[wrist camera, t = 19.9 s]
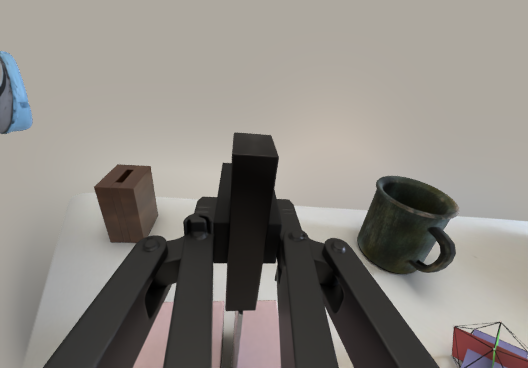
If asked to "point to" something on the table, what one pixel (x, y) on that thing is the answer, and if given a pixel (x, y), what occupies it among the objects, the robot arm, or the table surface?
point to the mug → (407, 226)
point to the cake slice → (260, 337)
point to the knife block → (127, 202)
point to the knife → (248, 223)
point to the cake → (155, 344)
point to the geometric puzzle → (486, 350)
